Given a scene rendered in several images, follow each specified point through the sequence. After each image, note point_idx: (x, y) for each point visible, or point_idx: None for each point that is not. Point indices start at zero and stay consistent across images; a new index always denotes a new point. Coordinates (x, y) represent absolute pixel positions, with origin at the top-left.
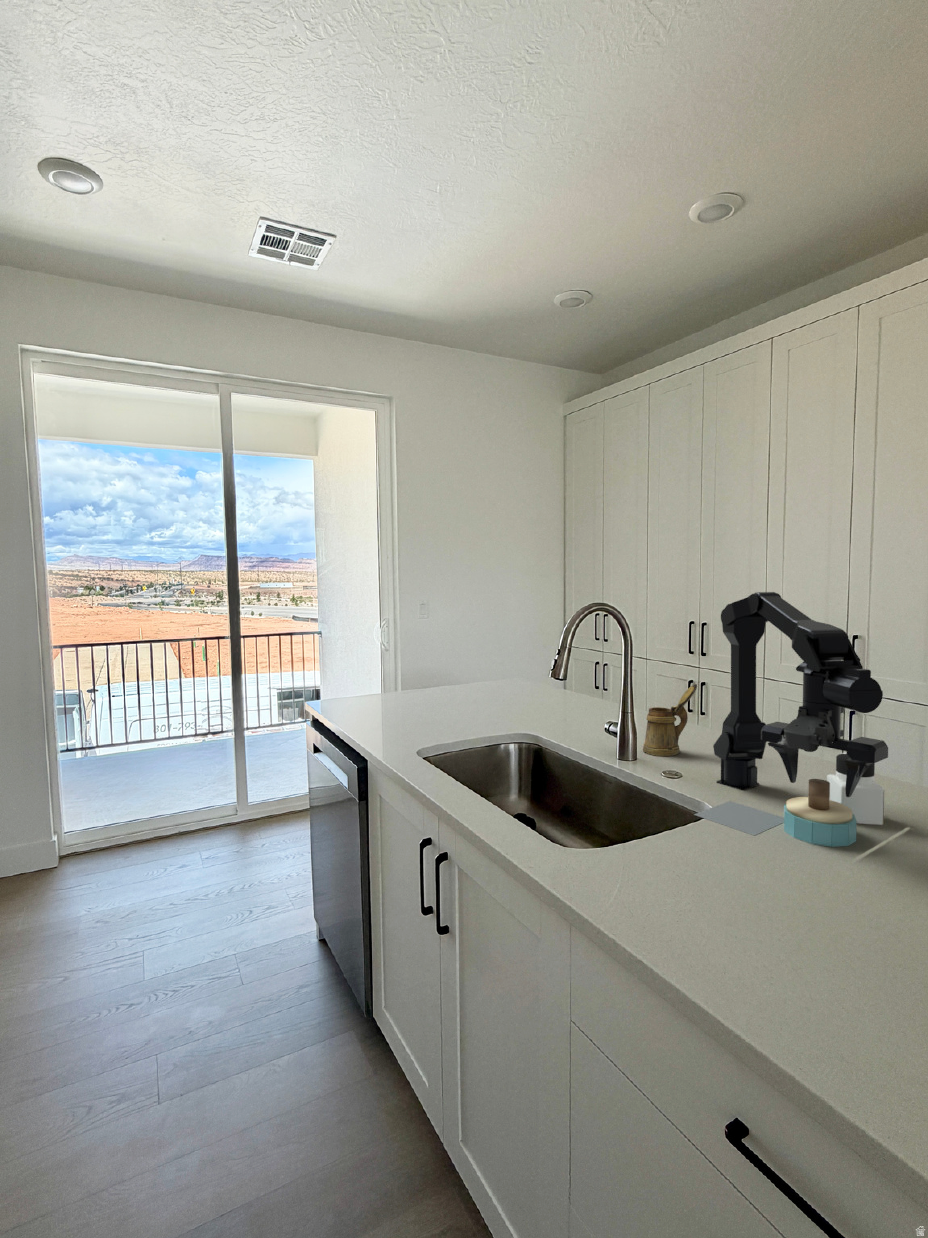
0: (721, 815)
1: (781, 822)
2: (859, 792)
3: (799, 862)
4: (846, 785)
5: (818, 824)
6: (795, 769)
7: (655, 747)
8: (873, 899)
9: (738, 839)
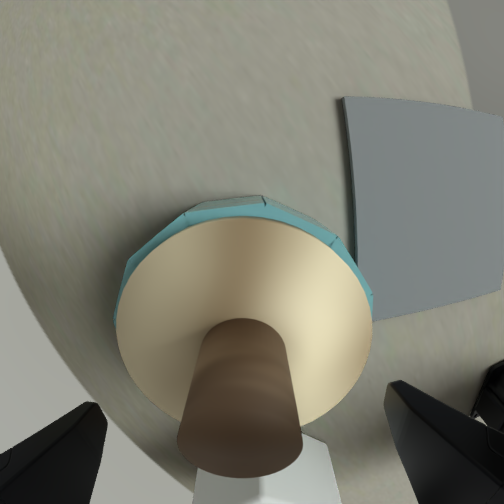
0: (477, 168)
1: None
2: (225, 499)
3: (153, 65)
4: (58, 436)
5: (166, 228)
6: (411, 457)
7: None
8: (2, 87)
9: (356, 54)
